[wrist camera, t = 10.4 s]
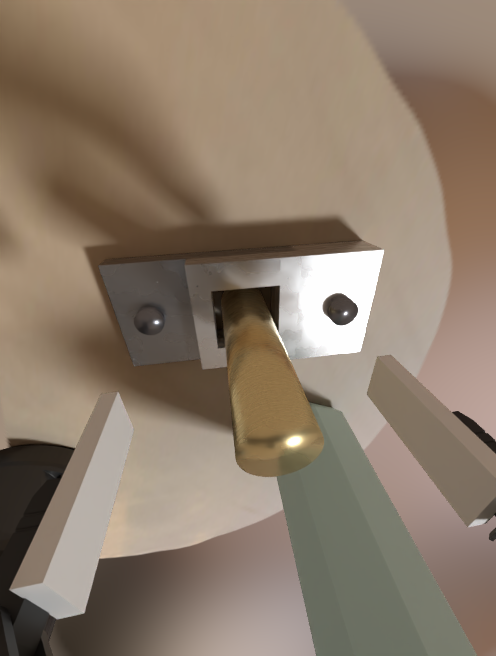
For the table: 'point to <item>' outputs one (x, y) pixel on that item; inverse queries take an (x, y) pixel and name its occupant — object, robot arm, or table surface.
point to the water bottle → (361, 558)
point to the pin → (265, 392)
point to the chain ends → (239, 273)
